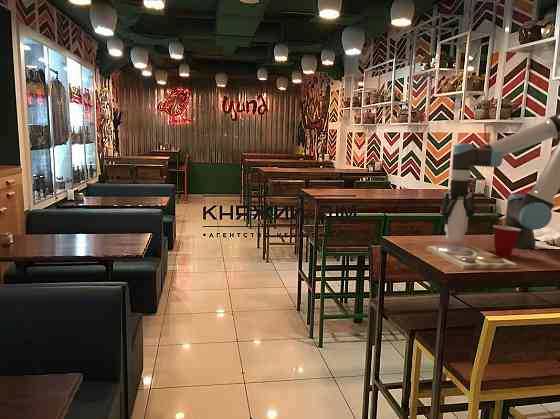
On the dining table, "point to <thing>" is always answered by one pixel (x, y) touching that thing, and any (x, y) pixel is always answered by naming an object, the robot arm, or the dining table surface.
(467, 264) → the fitting board
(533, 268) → the dining table surface
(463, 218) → the milk bottle
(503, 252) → the plastic cup
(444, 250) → the flange large
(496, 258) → the flange dn80
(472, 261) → the flange small
